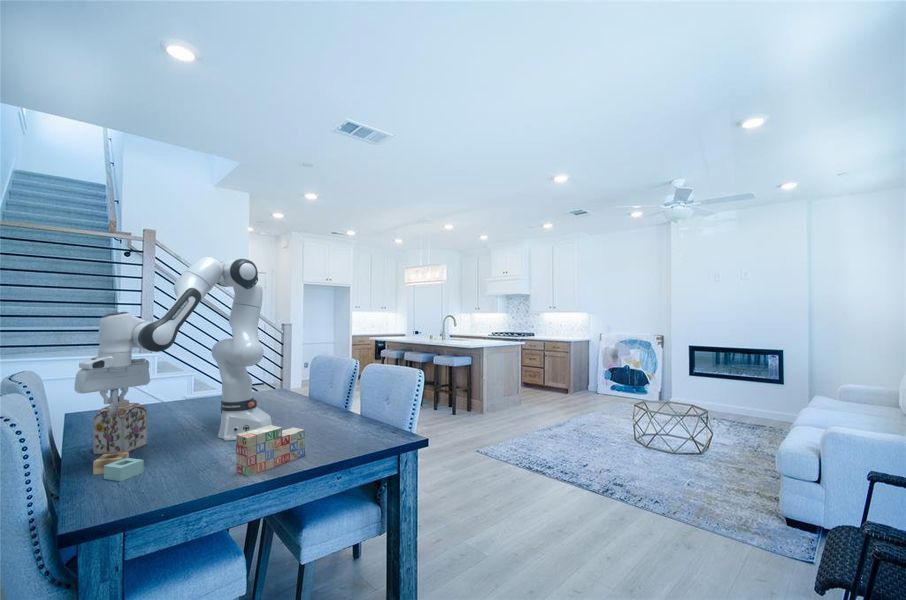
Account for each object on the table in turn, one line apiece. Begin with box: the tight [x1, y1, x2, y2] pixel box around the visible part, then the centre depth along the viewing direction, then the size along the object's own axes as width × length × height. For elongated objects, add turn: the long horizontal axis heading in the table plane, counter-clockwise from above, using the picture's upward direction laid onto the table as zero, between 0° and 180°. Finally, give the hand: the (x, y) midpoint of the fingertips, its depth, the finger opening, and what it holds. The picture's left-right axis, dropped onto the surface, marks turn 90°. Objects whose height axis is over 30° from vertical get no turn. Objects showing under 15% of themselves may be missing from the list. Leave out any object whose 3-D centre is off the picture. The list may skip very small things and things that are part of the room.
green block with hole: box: [103, 457, 144, 482], centre depth 133 cm, size 7×7×4 cm
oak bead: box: [92, 452, 130, 475], centre depth 139 cm, size 7×7×4 cm
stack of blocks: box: [235, 424, 306, 477], centre depth 142 cm, size 21×6×12 cm, turn 147°
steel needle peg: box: [109, 389, 120, 418], centre depth 142 cm, size 2×2×13 cm
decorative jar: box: [92, 398, 148, 455], centre depth 158 cm, size 12×12×18 cm
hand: (114, 402), depth 142 cm, fingers closed on steel needle peg, 2 cm apart
